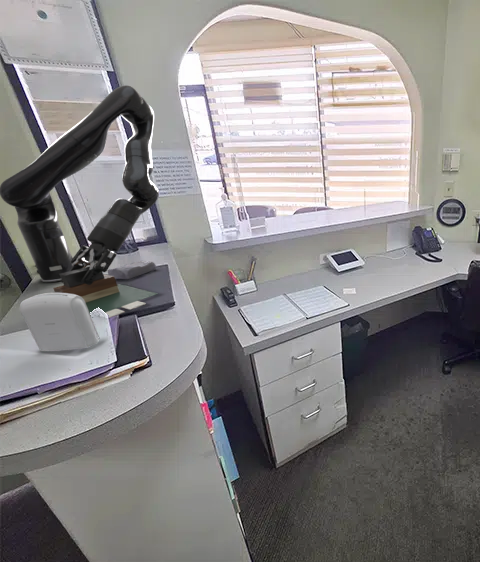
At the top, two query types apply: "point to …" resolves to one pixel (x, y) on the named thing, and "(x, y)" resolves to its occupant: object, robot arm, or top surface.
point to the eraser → (96, 290)
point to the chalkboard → (119, 298)
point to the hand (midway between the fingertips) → (77, 281)
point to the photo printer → (59, 321)
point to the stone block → (132, 270)
